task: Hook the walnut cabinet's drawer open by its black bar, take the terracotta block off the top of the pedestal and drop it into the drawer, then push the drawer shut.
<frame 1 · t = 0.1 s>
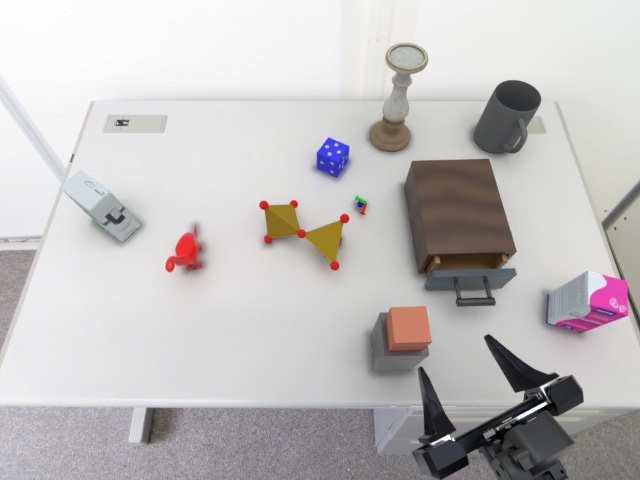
hand: (453, 350, 44), 18 cm above the table, tool horizontal, fingers open, 9 cm apart
ink box: (118, 224, 75), on the table
dinosaur: (195, 260, 71), on the table
block: (404, 333, 51), point 12 cm above the table, touching pedestal
mug: (495, 147, 83), on the table
die: (332, 165, 81), on the table
candle holder: (389, 137, 85), on the table
drawer: (460, 245, 67), point 4 cm above the table, slide at 2.5 cm
cabinet: (447, 225, 73), on the table
supplement box: (563, 314, 65), on the table
pedestal: (390, 351, 62), on the table
molecule model: (313, 230, 74), on the table
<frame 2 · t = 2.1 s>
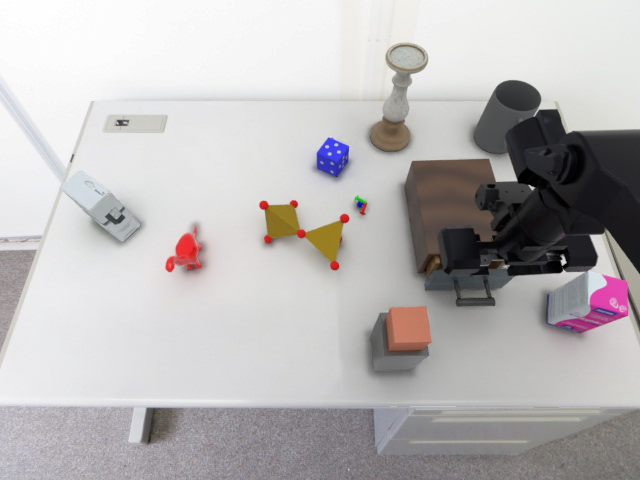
hand: (489, 273, 56), 12 cm above the table, tool pointing down, fingers open, 5 cm apart
nothing on the table moved.
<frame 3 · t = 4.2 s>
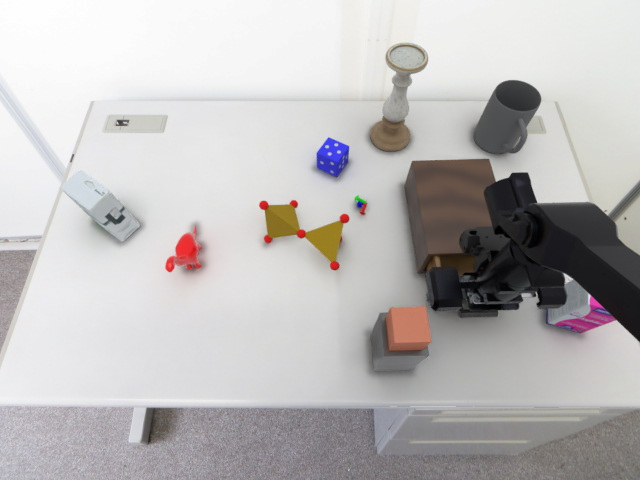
hand: (474, 305, 62), 4 cm above the table, tool pointing down, fingers closed
drawer: (462, 255, 66), point 4 cm above the table, slide at 4.4 cm
everything else where it was.
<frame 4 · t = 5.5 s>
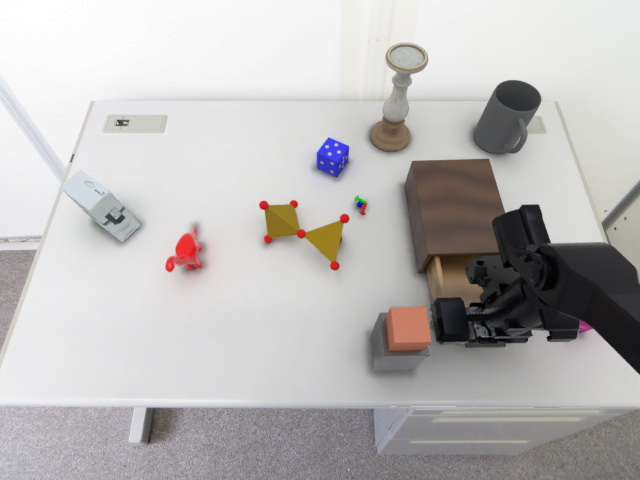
hand: (480, 334, 60), 4 cm above the table, tool pointing down, fingers closed
drawer: (468, 280, 64), point 4 cm above the table, slide at 9.1 cm, touching gripper
everything else where it was.
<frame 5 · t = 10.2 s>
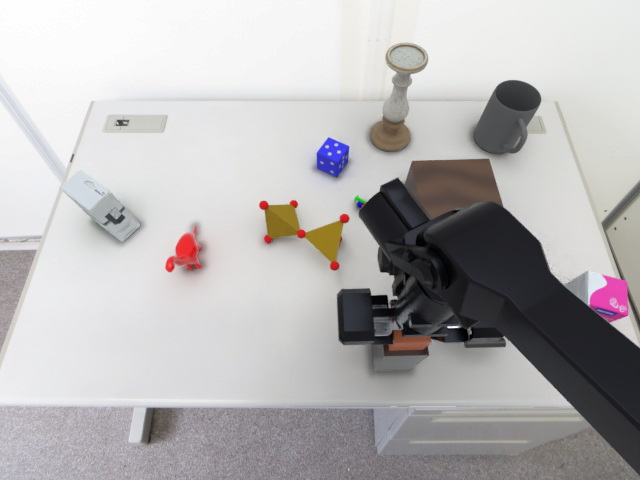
hand: (404, 332, 51), 13 cm above the table, tool pointing down, fingers closed on block, 4 cm apart
block: (404, 333, 51), point 12 cm above the table, touching gripper, pedestal
drawer: (468, 280, 64), point 4 cm above the table, slide at 9.1 cm
everything else where it was.
when the fingers open (9 cm above the table, at t = 14.2 s): block drops 7 cm, resting on drawer.
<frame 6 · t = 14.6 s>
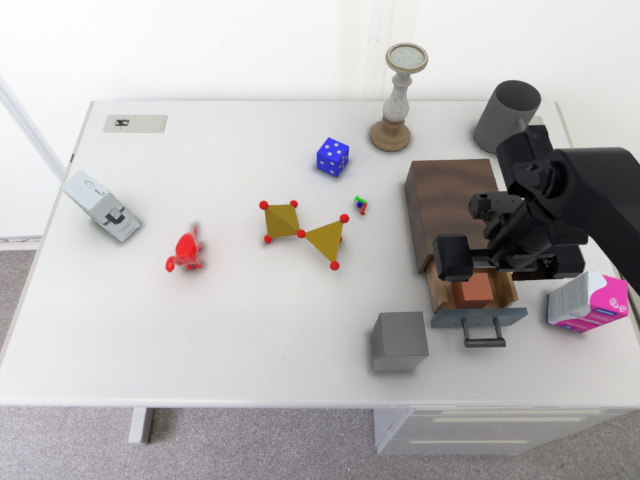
hand: (483, 278, 58), 10 cm above the table, tool pointing down, fingers open, 9 cm apart
block: (466, 295, 65), point 2 cm above the table, touching drawer
drawer: (468, 280, 64), point 4 cm above the table, slide at 9.1 cm, touching block
everything else where it was.
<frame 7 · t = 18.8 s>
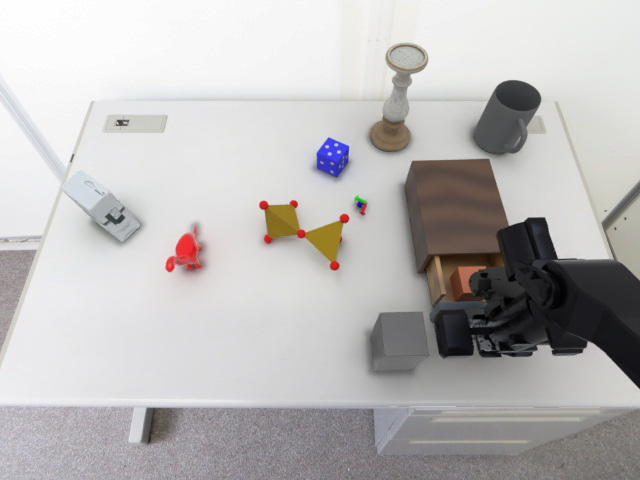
hand: (483, 345, 58), 4 cm above the table, tool pointing down, fingers closed, pressing on drawer
block: (465, 289, 65), point 2 cm above the table, touching drawer
drawer: (467, 273, 64), point 4 cm above the table, slide at 7.9 cm, touching block, gripper
everything else where it was.
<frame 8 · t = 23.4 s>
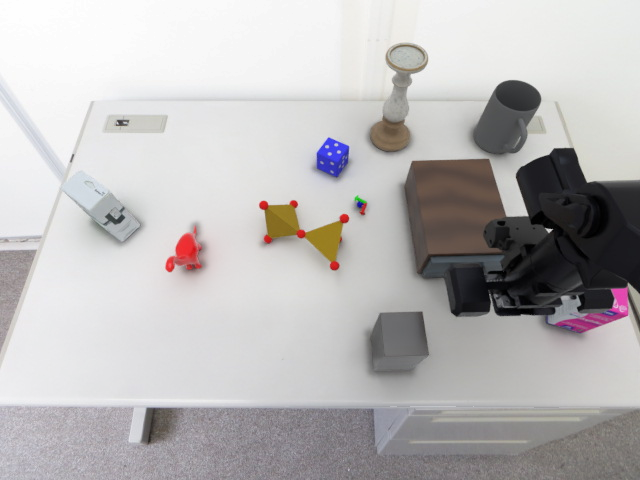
hand: (498, 308, 53), 12 cm above the table, tool pointing down, fingers closed
block: (456, 248, 69), point 2 cm above the table, touching drawer
drawer: (458, 233, 68), point 4 cm above the table, slide at 0.0 cm, touching block, cabinet
everything else where it was.
at the end: block inside the target area in the cabinet (5.1 cm from its centre), point 2.0 cm above the cabinet's base; drawer slide at 0.0 cm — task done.
